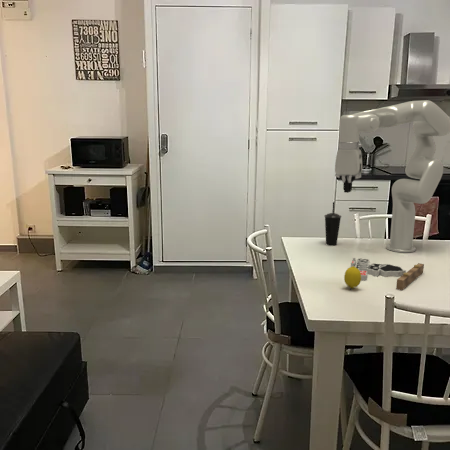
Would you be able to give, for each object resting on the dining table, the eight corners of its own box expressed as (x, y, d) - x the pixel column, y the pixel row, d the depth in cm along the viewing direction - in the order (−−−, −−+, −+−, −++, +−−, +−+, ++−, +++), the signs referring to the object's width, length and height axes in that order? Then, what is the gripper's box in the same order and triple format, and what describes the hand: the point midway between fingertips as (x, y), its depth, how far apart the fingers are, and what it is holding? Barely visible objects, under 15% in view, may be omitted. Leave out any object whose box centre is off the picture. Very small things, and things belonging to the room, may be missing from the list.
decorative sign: (352, 257, 186) (405, 262, 180) (352, 263, 187) (404, 268, 180) (347, 273, 166) (406, 280, 160) (347, 280, 167) (406, 287, 160)
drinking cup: (341, 246, 211) (344, 203, 207) (324, 246, 211) (327, 203, 207) (337, 242, 218) (340, 200, 214) (321, 242, 218) (323, 200, 214)
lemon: (357, 292, 153) (359, 269, 152) (341, 289, 156) (342, 267, 154) (362, 287, 158) (363, 265, 156) (346, 284, 161) (347, 262, 159)
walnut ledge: (417, 271, 175) (418, 261, 174) (423, 273, 174) (424, 262, 173) (396, 289, 156) (397, 277, 156) (402, 290, 155) (403, 278, 154)
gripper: (370, 146, 181) (368, 192, 185) (335, 145, 190) (334, 189, 194) (363, 147, 175) (361, 194, 180) (327, 146, 184) (326, 192, 189)
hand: (347, 191), depth 187 cm, fingers closed
